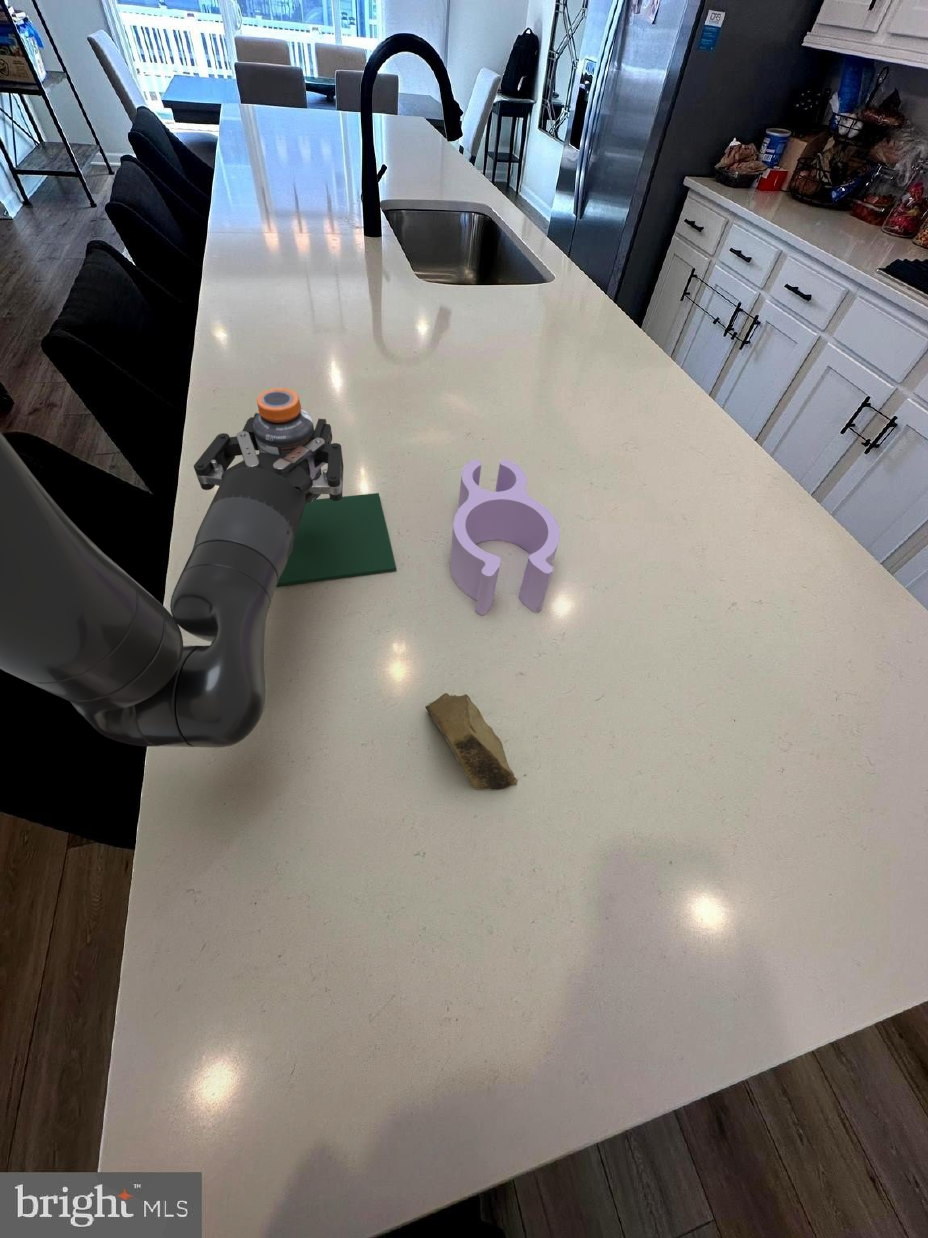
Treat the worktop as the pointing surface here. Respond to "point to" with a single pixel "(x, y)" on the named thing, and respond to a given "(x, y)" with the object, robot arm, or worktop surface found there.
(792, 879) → the worktop surface
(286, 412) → the pill bottle
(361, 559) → the mat
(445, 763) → the worktop surface
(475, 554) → the clip
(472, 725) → the rock
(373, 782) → the worktop surface
